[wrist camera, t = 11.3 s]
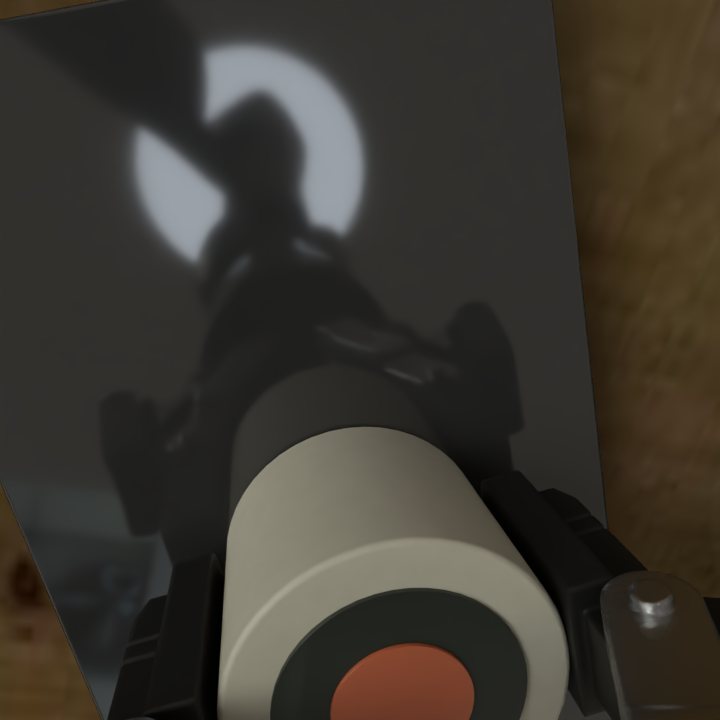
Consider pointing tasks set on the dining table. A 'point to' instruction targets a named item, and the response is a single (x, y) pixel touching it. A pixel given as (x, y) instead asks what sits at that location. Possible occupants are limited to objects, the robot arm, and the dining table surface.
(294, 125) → the glossy dark tile
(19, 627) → the dining table surface
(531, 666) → the sushi roll
